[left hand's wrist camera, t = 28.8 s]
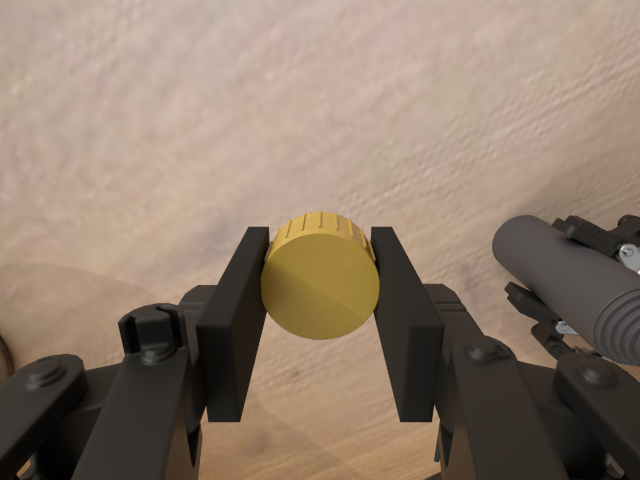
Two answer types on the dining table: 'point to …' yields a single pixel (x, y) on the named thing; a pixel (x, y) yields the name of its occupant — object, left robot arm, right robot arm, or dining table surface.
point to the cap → (320, 276)
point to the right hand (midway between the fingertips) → (536, 259)
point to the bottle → (575, 284)
